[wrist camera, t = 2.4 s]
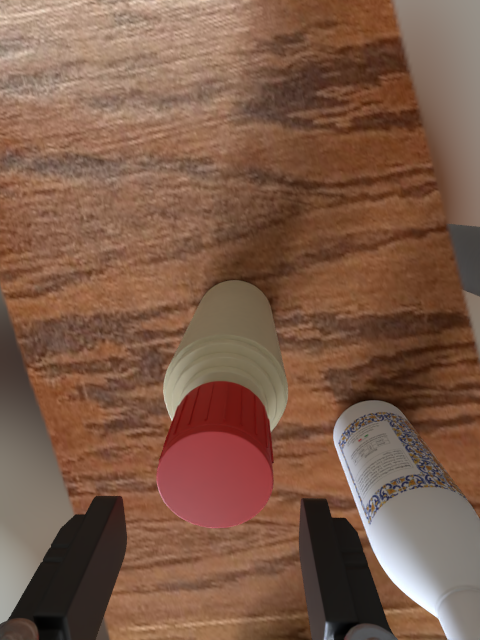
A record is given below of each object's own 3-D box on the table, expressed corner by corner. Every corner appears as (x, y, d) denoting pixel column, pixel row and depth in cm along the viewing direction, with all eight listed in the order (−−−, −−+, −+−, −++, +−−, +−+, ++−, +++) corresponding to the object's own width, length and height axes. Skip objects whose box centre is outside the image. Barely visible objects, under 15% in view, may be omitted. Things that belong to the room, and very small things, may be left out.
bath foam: (408, 456, 37) (584, 732, 17) (336, 466, 37) (430, 745, 18) (404, 392, 35) (597, 623, 16) (328, 403, 35) (424, 641, 16)
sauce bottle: (272, 279, 32) (308, 392, 13) (271, 351, 34) (301, 543, 15) (196, 280, 32) (119, 391, 13) (199, 351, 34) (135, 540, 15)
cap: (269, 379, 16) (276, 429, 13) (268, 462, 18) (273, 530, 14) (172, 379, 16) (150, 429, 13) (177, 461, 18) (159, 528, 14)
